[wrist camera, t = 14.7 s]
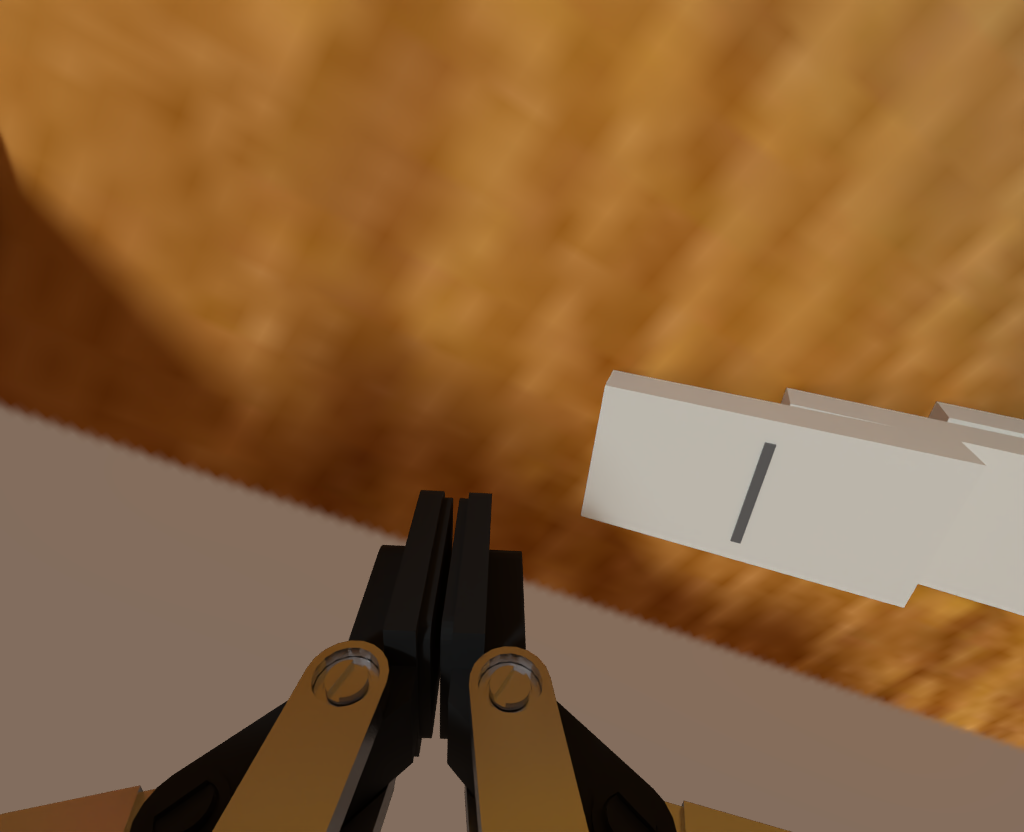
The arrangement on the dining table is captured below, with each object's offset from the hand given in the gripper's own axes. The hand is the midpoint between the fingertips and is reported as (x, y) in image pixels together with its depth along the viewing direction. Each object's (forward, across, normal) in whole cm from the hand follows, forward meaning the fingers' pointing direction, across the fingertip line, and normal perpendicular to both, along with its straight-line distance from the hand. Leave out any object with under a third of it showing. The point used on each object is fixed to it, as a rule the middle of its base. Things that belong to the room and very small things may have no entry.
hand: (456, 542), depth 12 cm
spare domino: (+6, -4, 0) cm, 7 cm away
